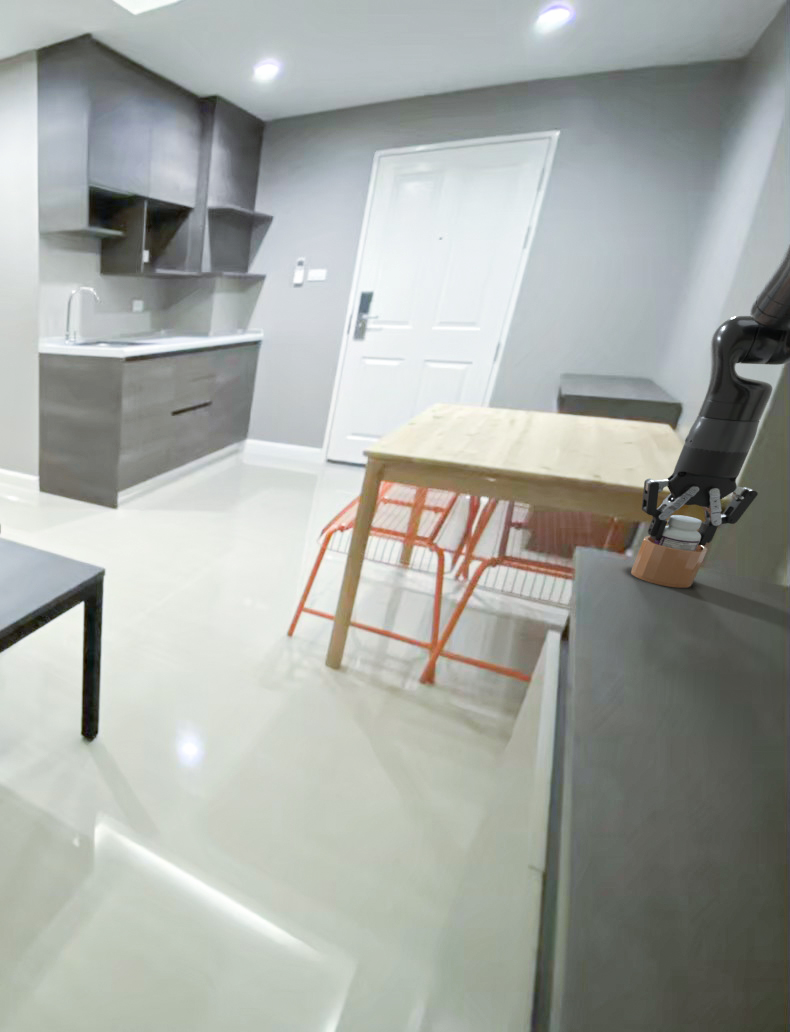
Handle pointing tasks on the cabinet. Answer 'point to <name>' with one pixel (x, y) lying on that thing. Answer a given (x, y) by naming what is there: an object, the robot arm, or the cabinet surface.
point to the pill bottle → (681, 533)
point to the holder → (667, 564)
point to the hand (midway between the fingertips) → (677, 541)
